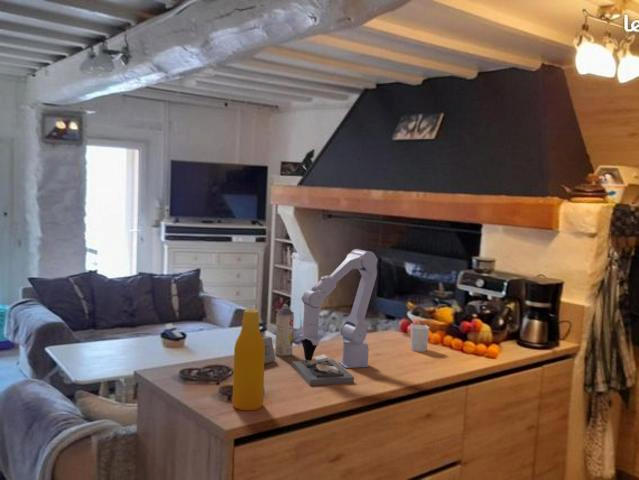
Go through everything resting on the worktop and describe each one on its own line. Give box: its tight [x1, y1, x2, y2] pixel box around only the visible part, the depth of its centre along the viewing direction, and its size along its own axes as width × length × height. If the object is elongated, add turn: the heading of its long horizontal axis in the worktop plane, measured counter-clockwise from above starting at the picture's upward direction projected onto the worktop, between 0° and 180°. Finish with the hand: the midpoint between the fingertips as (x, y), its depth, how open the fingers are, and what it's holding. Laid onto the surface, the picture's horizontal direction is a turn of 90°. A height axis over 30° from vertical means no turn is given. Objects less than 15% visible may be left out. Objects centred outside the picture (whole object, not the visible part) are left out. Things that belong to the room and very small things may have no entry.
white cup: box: [410, 324, 430, 353], centre depth 253 cm, size 8×8×10 cm
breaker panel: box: [291, 358, 355, 386], centre depth 214 cm, size 16×22×4 cm
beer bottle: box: [231, 309, 265, 411], centre depth 179 cm, size 9×9×29 cm
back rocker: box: [307, 353, 329, 365], centre depth 219 cm, size 7×4×2 cm, turn 108°
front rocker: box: [316, 364, 339, 373], centre depth 208 cm, size 7×4×2 cm, turn 108°
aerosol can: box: [274, 304, 295, 358], centre depth 236 cm, size 7×7×20 cm
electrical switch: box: [262, 336, 276, 365], centre depth 225 cm, size 9×5×9 cm, turn 141°
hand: (308, 359), depth 217 cm, fingers closed, pressing on back rocker
